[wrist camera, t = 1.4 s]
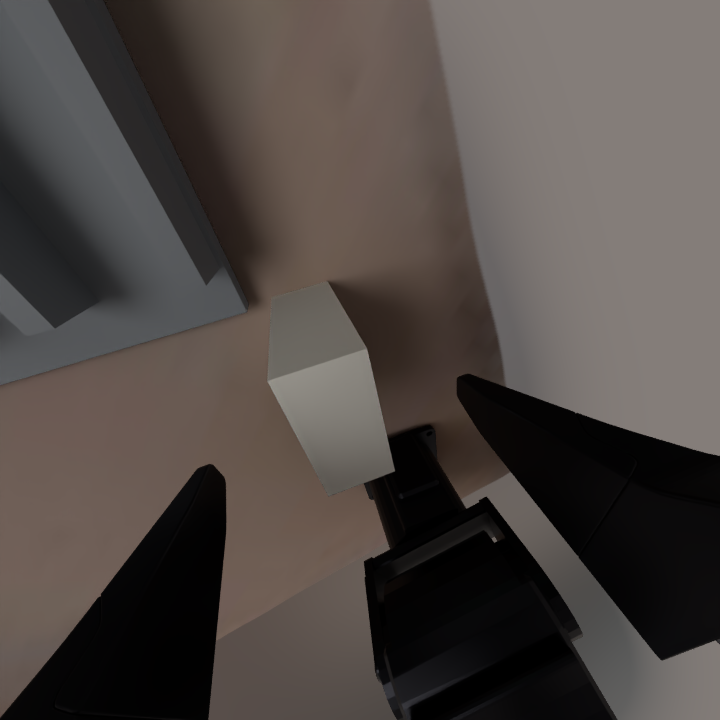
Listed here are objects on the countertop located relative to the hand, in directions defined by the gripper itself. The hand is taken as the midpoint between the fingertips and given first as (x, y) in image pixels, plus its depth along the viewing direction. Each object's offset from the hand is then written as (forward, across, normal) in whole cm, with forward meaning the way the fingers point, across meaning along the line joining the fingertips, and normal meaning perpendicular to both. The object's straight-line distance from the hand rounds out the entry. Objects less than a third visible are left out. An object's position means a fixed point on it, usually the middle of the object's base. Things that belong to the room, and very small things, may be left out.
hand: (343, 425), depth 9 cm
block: (+6, 0, 0) cm, 6 cm away
